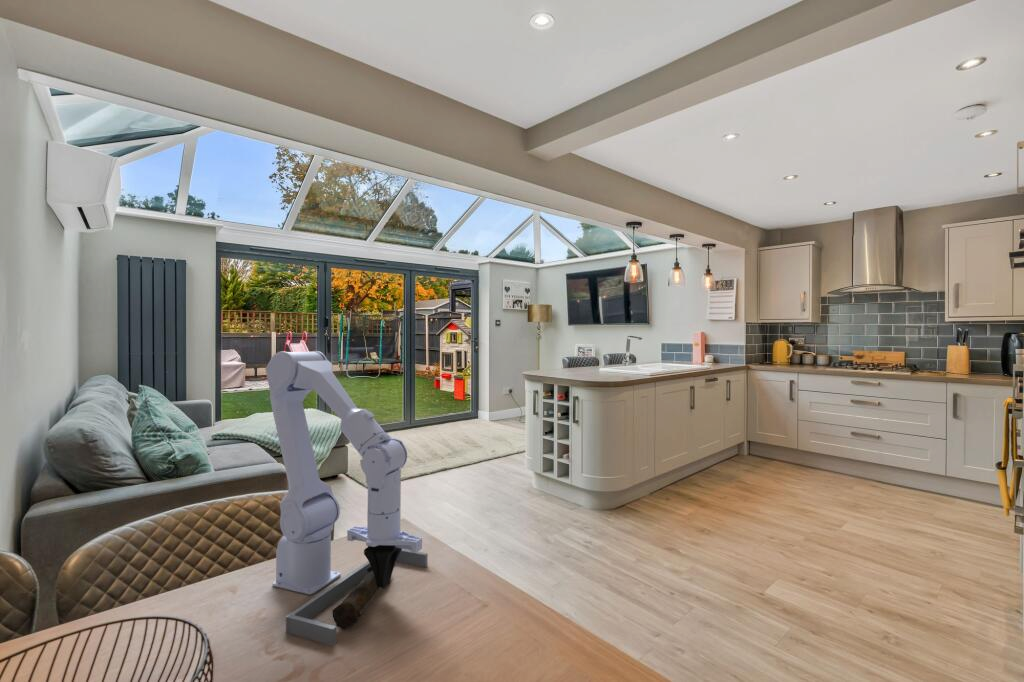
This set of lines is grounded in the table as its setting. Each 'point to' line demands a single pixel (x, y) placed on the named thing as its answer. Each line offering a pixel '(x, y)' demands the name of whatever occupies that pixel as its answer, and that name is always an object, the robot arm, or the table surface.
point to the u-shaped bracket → (323, 632)
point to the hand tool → (355, 601)
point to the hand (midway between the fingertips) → (383, 585)
